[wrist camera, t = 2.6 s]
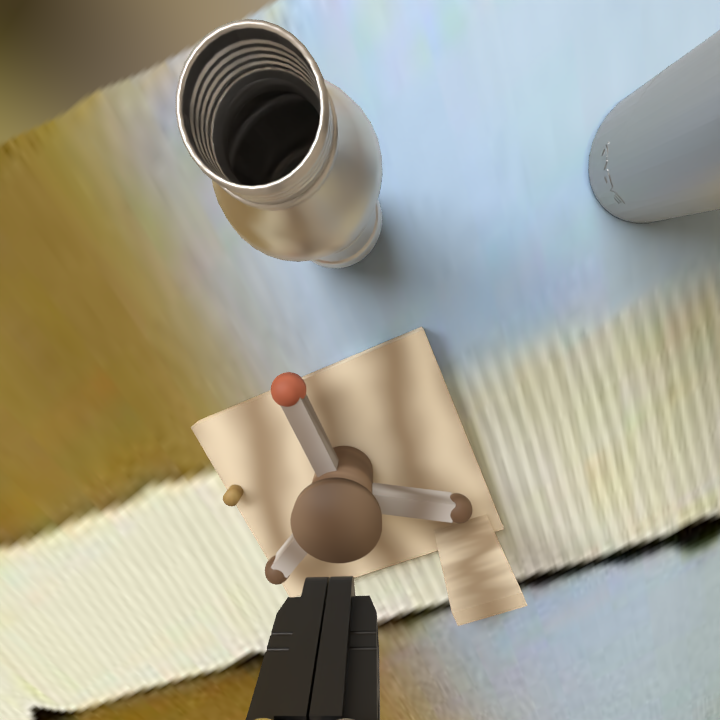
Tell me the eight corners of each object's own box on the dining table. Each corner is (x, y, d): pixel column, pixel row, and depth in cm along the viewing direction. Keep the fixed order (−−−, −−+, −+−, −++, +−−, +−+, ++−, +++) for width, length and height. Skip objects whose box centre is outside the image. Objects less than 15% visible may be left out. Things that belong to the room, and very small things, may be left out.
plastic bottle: (397, 238, 28) (445, 148, 8) (327, 285, 29) (222, 303, 9) (353, 163, 26) (289, -148, 7) (282, 215, 28) (56, 69, 8)
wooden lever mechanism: (421, 326, 29) (441, 349, 20) (499, 519, 33) (546, 613, 24) (199, 420, 32) (127, 478, 23) (294, 586, 36) (266, 693, 27)
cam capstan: (394, 319, 27) (399, 333, 21) (465, 490, 30) (490, 549, 24) (197, 404, 30) (145, 440, 23) (282, 553, 33) (259, 623, 26)
